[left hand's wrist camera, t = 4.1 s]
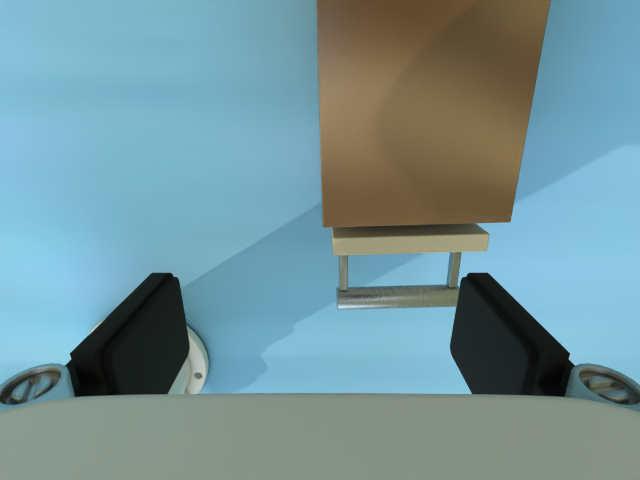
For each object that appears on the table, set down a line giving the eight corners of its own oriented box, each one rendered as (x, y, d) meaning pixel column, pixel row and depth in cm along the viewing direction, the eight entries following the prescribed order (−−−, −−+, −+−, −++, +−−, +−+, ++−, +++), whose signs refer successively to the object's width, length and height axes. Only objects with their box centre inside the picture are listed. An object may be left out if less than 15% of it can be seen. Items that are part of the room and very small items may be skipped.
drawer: (433, 267, 32) (475, 326, 23) (330, 270, 32) (334, 329, 23) (463, -34, 24) (546, -115, 15) (324, -29, 24) (327, -108, 15)
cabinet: (444, 183, 30) (510, 222, 20) (321, 186, 30) (322, 227, 20) (473, -89, 23) (595, -244, 13) (314, -83, 23) (310, -234, 13)
